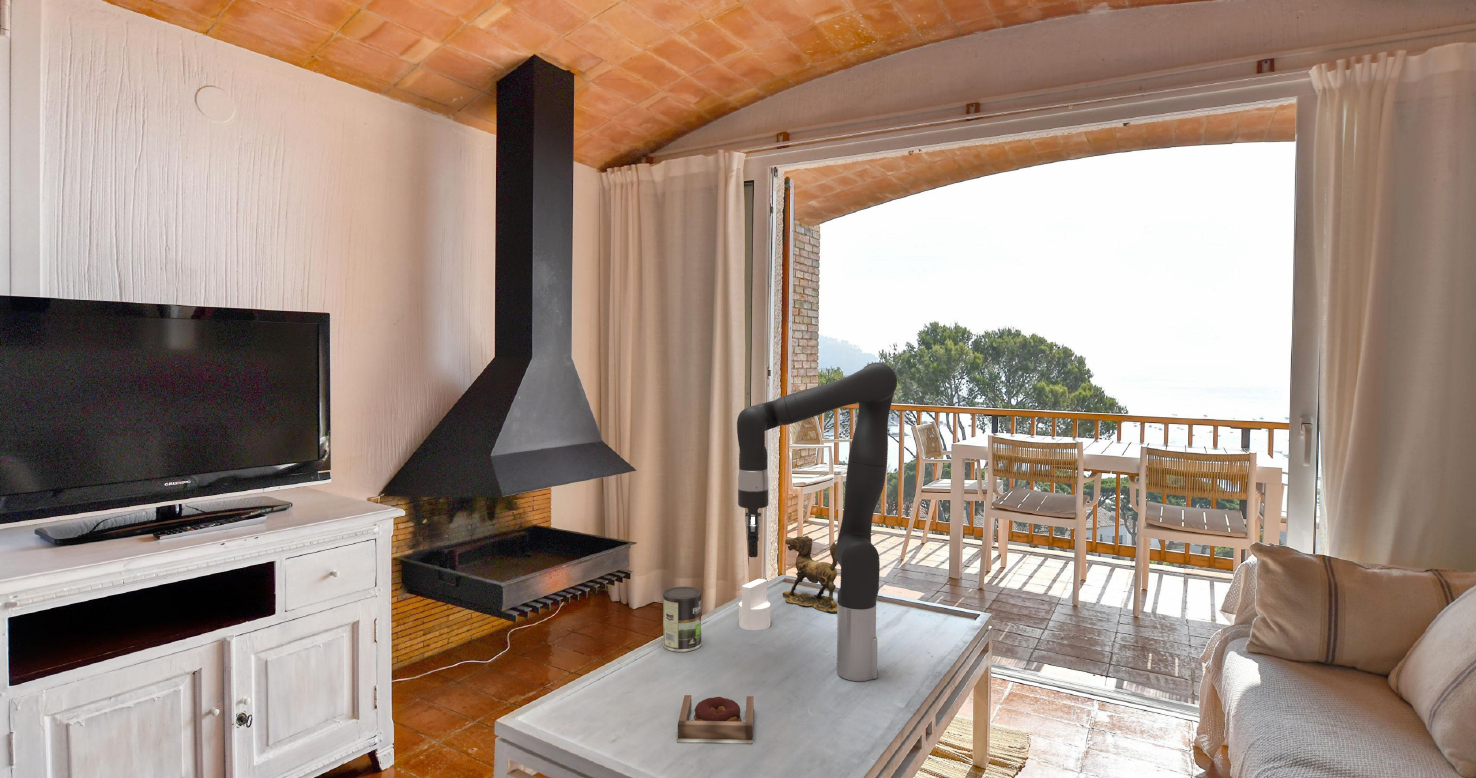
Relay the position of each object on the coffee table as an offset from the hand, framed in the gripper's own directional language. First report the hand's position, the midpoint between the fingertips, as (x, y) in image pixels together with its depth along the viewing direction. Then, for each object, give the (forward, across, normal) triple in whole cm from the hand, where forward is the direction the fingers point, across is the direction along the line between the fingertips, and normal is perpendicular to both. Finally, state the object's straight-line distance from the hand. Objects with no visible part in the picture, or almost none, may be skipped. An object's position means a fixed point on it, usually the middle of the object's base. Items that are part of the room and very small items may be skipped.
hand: (753, 556), depth 181 cm
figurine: (+27, +44, -19) cm, 55 cm away
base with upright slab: (+27, +26, 0) cm, 38 cm away
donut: (+27, -29, +7) cm, 41 cm away
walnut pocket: (+27, -30, +7) cm, 41 cm away
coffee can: (+27, +11, +19) cm, 35 cm away
